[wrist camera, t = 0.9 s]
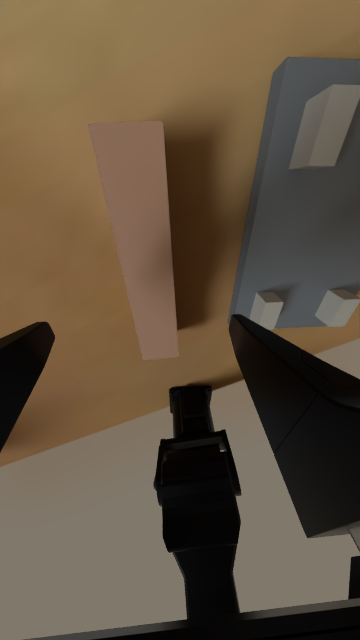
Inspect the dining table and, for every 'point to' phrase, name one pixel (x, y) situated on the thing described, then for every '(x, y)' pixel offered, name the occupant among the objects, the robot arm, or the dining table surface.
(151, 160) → the clay strip
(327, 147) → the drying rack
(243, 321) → the robot arm
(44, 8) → the dining table surface
